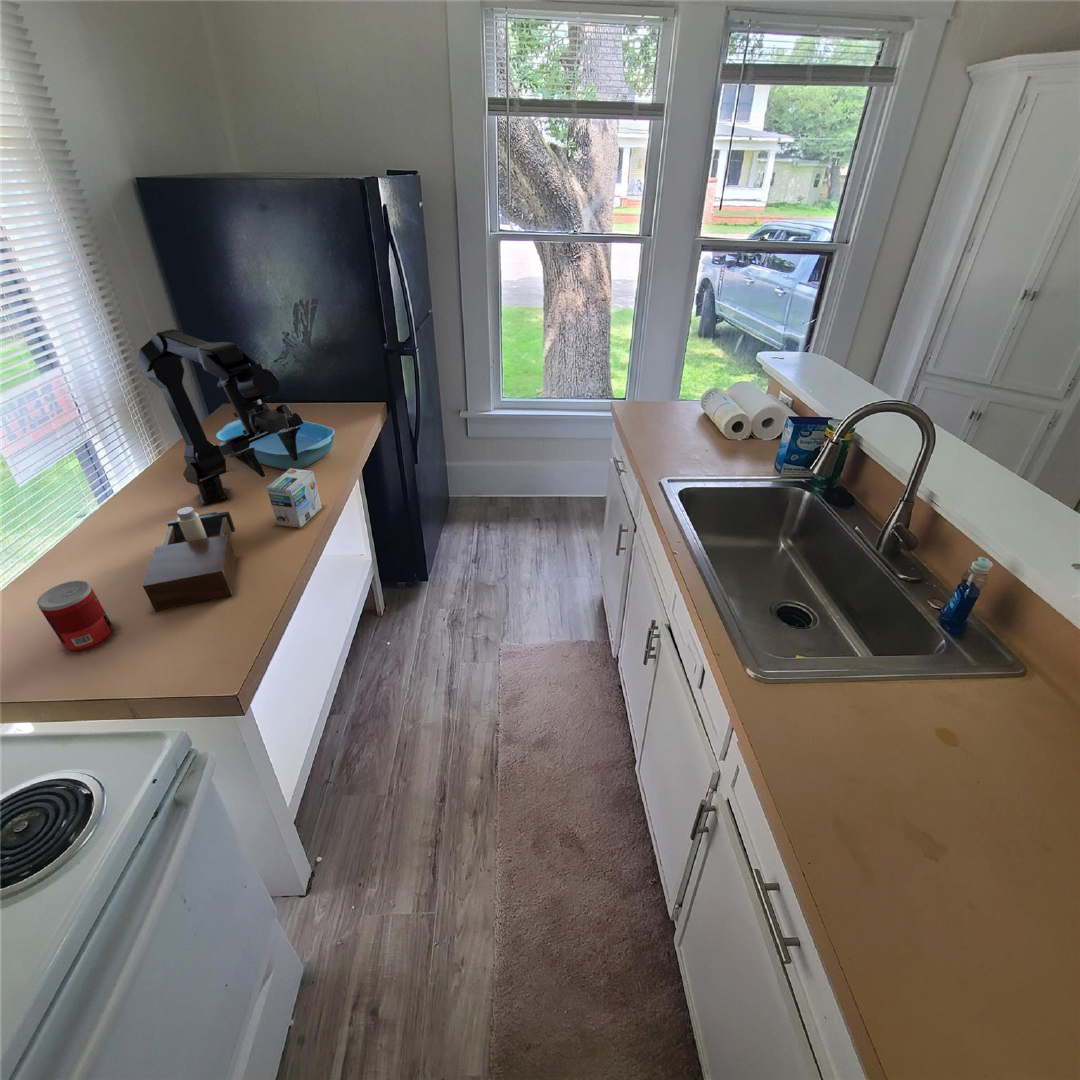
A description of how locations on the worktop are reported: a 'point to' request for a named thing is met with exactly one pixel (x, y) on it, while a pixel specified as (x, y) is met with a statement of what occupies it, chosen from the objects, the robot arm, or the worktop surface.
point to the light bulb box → (294, 497)
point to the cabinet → (190, 573)
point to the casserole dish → (272, 452)
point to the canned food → (76, 615)
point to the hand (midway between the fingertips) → (280, 468)
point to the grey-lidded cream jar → (190, 524)
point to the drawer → (212, 525)
